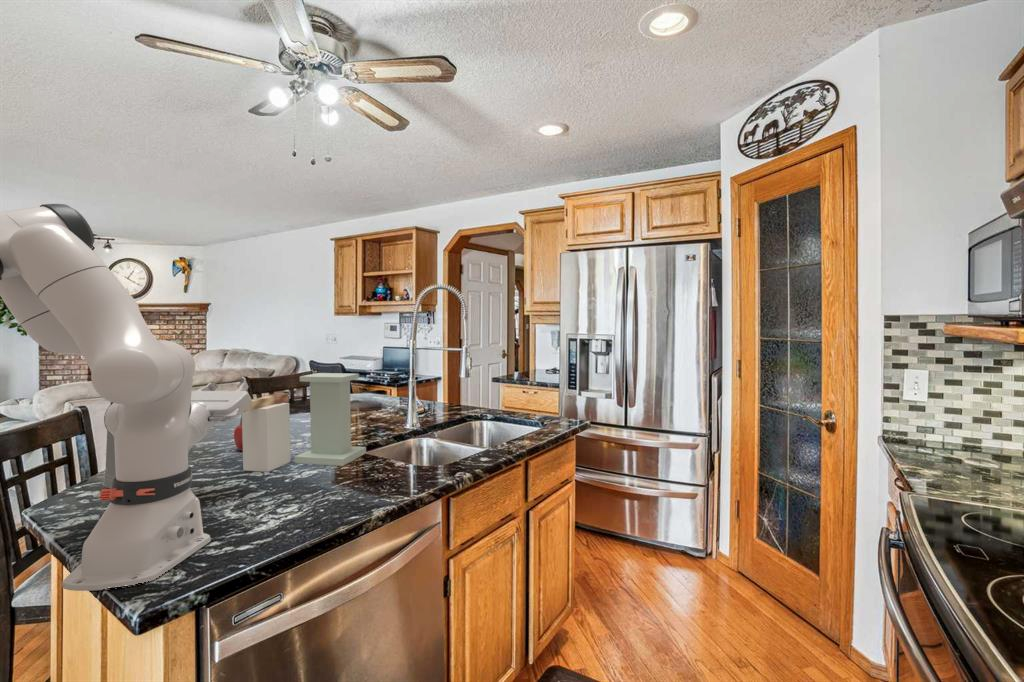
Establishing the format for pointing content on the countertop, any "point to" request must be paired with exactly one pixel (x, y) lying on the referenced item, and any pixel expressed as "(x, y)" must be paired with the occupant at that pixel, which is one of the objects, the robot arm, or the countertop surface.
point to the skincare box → (110, 461)
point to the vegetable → (238, 437)
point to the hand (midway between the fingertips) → (229, 384)
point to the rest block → (266, 438)
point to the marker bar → (268, 401)
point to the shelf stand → (330, 420)
